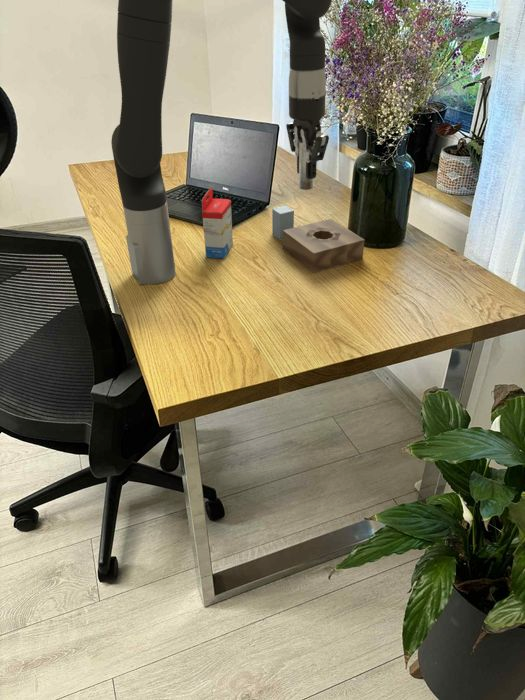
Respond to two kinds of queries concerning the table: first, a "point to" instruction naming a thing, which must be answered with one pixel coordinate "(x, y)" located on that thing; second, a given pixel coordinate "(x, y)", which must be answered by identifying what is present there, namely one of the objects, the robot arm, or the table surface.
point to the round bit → (304, 169)
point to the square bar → (282, 220)
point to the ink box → (217, 225)
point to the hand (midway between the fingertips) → (306, 175)
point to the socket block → (323, 245)
